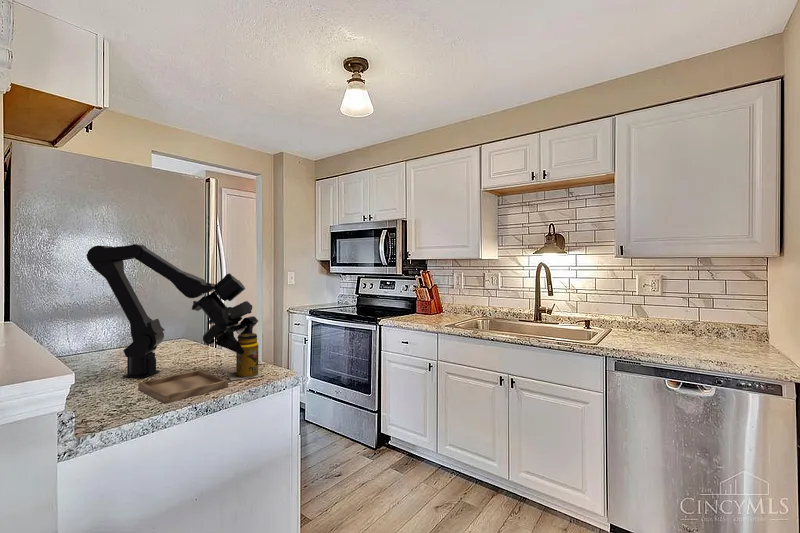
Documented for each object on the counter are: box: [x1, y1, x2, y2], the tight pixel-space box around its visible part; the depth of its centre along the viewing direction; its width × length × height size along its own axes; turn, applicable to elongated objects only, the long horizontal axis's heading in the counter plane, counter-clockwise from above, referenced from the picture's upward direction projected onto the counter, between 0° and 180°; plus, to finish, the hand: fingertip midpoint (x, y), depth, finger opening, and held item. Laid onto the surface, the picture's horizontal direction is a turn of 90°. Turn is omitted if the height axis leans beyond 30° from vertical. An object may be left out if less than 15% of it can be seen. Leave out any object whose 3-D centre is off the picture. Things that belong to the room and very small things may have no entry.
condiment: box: [226, 332, 263, 381], centre depth 114 cm, size 7×8×12 cm
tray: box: [137, 369, 229, 404], centre depth 102 cm, size 16×16×2 cm
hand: (249, 350), depth 114 cm, fingers closed on condiment, 6 cm apart
